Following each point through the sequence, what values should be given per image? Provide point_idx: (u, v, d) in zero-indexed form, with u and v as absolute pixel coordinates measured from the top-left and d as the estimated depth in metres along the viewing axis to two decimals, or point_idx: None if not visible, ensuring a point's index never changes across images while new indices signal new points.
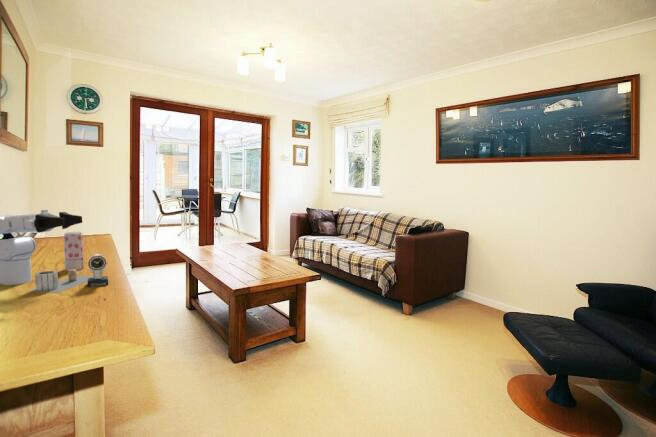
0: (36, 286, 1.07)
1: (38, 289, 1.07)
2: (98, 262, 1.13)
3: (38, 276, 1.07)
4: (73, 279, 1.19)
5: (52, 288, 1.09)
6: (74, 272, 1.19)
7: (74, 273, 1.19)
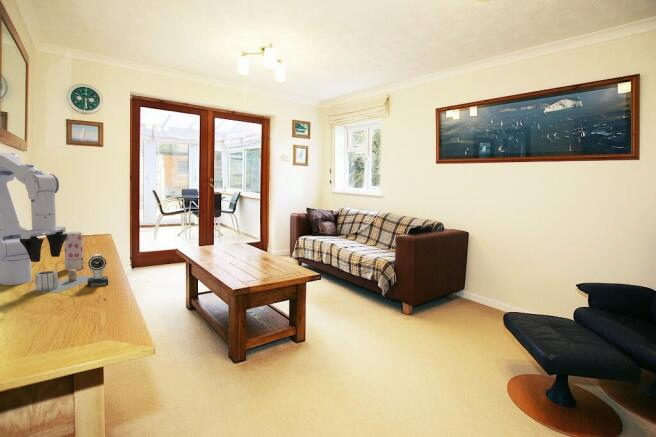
0: (36, 286, 1.07)
1: (38, 289, 1.07)
2: (98, 262, 1.13)
3: (38, 276, 1.07)
4: (73, 279, 1.19)
5: (52, 288, 1.09)
6: (74, 272, 1.19)
7: (74, 273, 1.19)
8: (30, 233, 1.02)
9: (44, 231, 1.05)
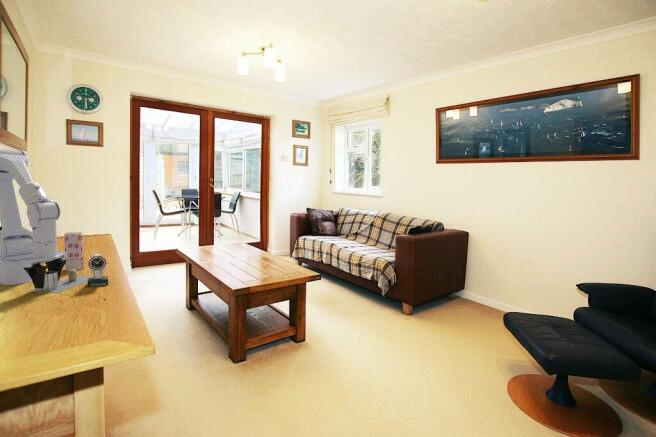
0: None
1: (38, 289, 1.07)
2: (98, 262, 1.13)
3: None
4: (73, 279, 1.19)
5: (52, 288, 1.09)
6: (74, 272, 1.19)
7: (74, 273, 1.19)
8: (31, 261, 1.03)
9: (45, 259, 1.06)
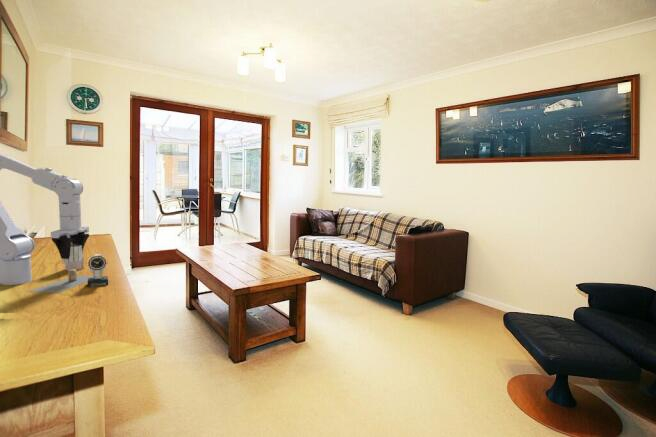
0: None
1: (64, 260, 1.16)
2: (98, 262, 1.13)
3: None
4: (73, 279, 1.19)
5: (77, 259, 1.18)
6: (74, 272, 1.19)
7: (74, 273, 1.19)
8: (59, 233, 1.12)
9: (71, 231, 1.15)
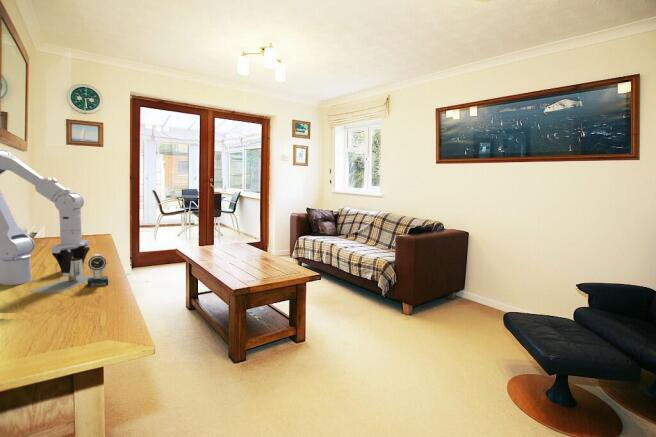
0: None
1: (65, 274, 1.17)
2: (98, 262, 1.13)
3: None
4: (73, 279, 1.19)
5: (78, 274, 1.18)
6: None
7: None
8: (60, 248, 1.12)
9: (72, 245, 1.15)
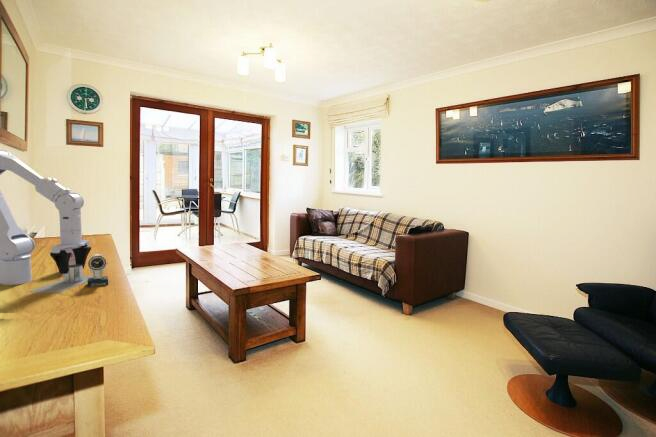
0: (63, 278, 1.17)
1: (65, 281, 1.17)
2: (98, 262, 1.13)
3: None
4: None
5: (78, 280, 1.18)
6: None
7: None
8: (60, 248, 1.12)
9: (72, 245, 1.15)
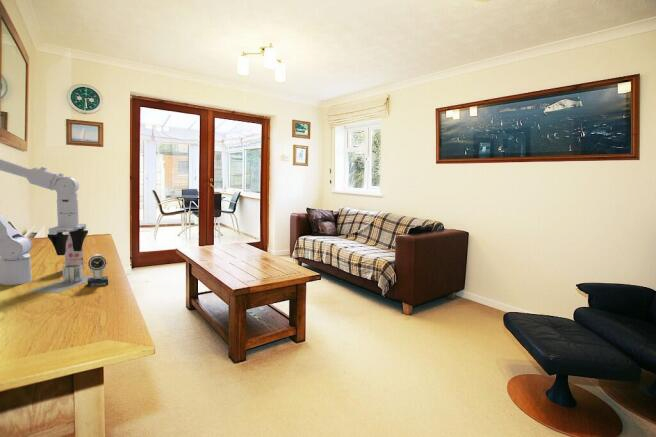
0: (63, 278, 1.17)
1: (65, 281, 1.17)
2: (98, 262, 1.13)
3: (66, 269, 1.16)
4: None
5: (78, 280, 1.18)
6: None
7: None
8: (57, 229, 1.15)
9: (69, 228, 1.18)
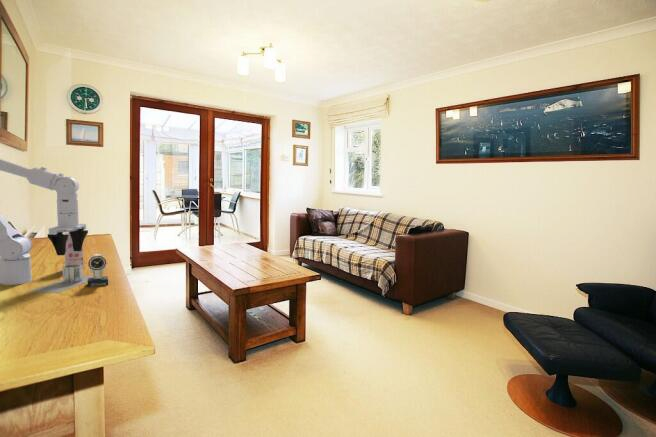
0: (63, 278, 1.17)
1: (65, 281, 1.17)
2: (98, 262, 1.13)
3: (66, 269, 1.16)
4: None
5: (78, 280, 1.18)
6: None
7: None
8: (57, 229, 1.15)
9: (69, 228, 1.18)
